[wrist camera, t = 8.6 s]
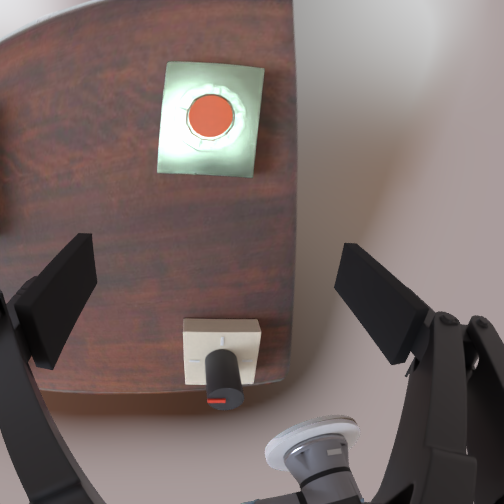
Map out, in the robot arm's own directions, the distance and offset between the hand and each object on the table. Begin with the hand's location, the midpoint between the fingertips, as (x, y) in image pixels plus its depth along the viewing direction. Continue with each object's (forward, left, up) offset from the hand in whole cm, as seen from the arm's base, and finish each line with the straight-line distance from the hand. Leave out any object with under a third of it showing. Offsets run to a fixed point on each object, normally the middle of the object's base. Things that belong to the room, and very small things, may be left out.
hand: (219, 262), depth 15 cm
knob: (-22, -2, -17) cm, 28 cm away
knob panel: (-22, -2, -20) cm, 30 cm away
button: (+8, +1, -16) cm, 18 cm away
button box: (+8, +1, -20) cm, 21 cm away
